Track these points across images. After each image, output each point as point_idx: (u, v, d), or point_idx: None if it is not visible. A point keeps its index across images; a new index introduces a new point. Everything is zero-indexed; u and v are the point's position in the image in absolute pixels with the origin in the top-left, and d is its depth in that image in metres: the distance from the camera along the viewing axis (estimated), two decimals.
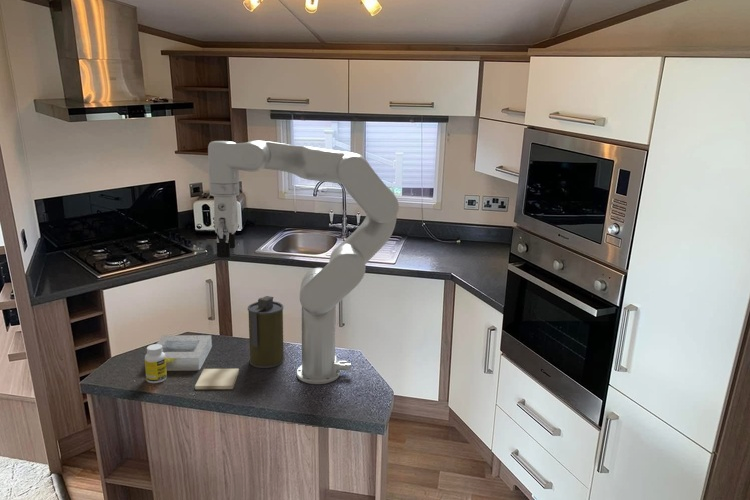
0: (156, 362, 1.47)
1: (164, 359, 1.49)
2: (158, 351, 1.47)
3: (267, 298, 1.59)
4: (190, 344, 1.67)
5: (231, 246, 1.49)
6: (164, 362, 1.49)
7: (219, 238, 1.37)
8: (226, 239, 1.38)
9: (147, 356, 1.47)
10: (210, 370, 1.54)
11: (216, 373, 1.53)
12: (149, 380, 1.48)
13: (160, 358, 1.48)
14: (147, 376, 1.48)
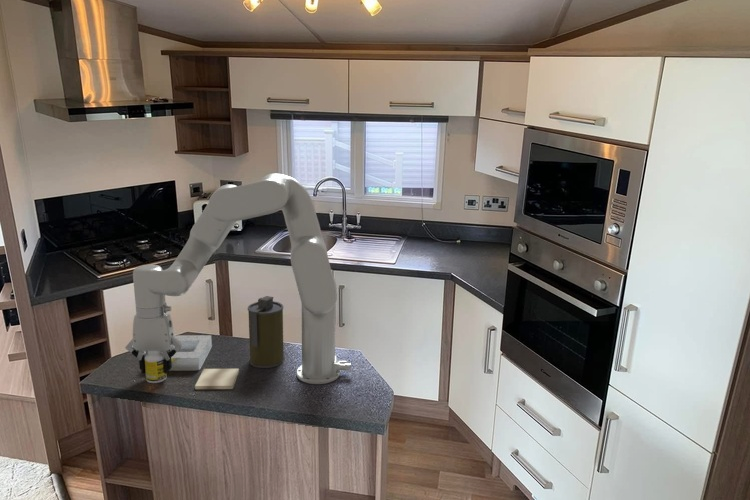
0: (156, 362, 1.47)
1: None
2: (158, 351, 1.47)
3: (267, 298, 1.59)
4: (190, 344, 1.67)
5: None
6: None
7: (174, 353, 1.49)
8: None
9: (147, 356, 1.47)
10: (210, 370, 1.54)
11: (216, 373, 1.53)
12: (149, 380, 1.48)
13: (160, 358, 1.48)
14: (147, 376, 1.48)
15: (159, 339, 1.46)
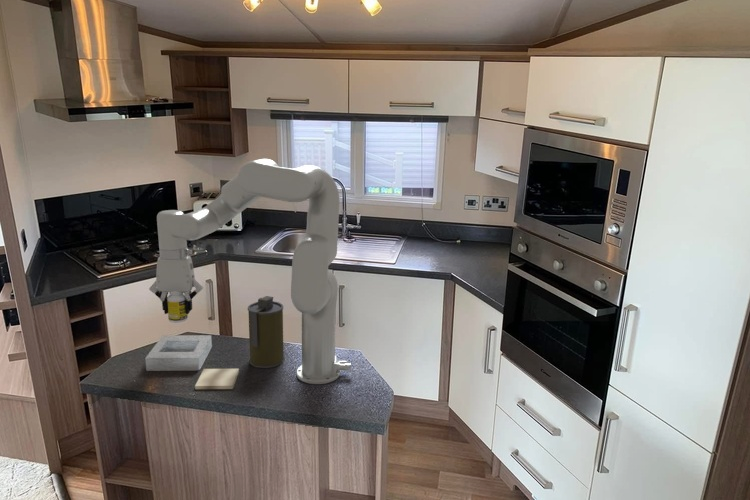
0: (178, 302, 1.57)
1: (185, 300, 1.59)
2: (180, 292, 1.57)
3: (267, 298, 1.59)
4: (190, 344, 1.67)
5: None
6: None
7: (195, 294, 1.58)
8: None
9: (169, 297, 1.57)
10: (210, 370, 1.54)
11: (216, 373, 1.53)
12: (171, 319, 1.58)
13: (182, 299, 1.57)
14: (169, 316, 1.58)
15: (181, 280, 1.55)
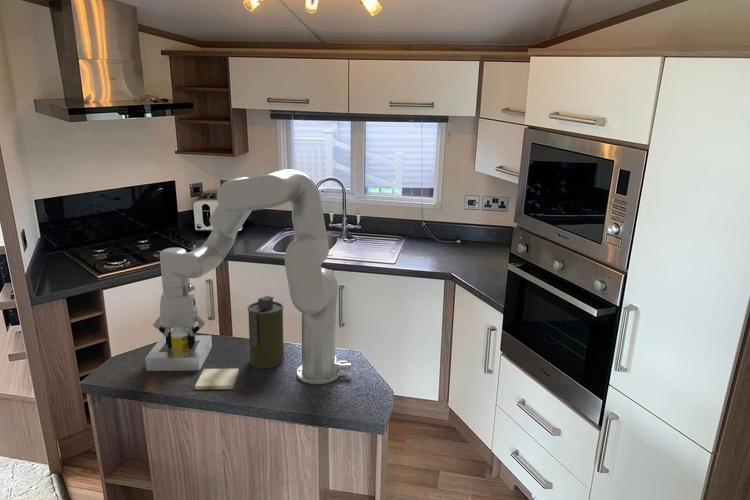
0: (182, 338, 1.59)
1: (188, 335, 1.61)
2: None
3: (267, 298, 1.59)
4: None
5: None
6: None
7: None
8: None
9: (173, 332, 1.60)
10: (210, 370, 1.54)
11: (216, 373, 1.53)
12: None
13: (185, 334, 1.60)
14: (173, 351, 1.61)
15: (184, 316, 1.58)
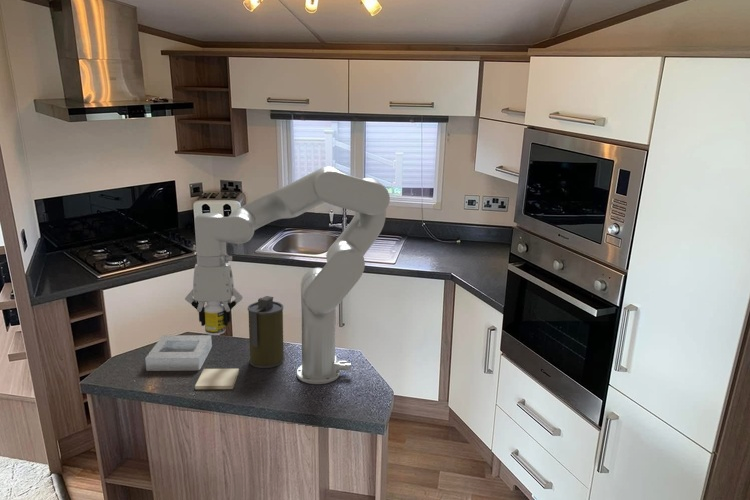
0: (217, 313, 1.44)
1: None
2: (218, 302, 1.44)
3: (267, 298, 1.59)
4: (190, 344, 1.67)
5: None
6: None
7: None
8: None
9: (207, 307, 1.44)
10: (210, 370, 1.54)
11: (216, 373, 1.53)
12: (209, 332, 1.45)
13: (220, 309, 1.44)
14: (207, 328, 1.45)
15: (220, 289, 1.42)
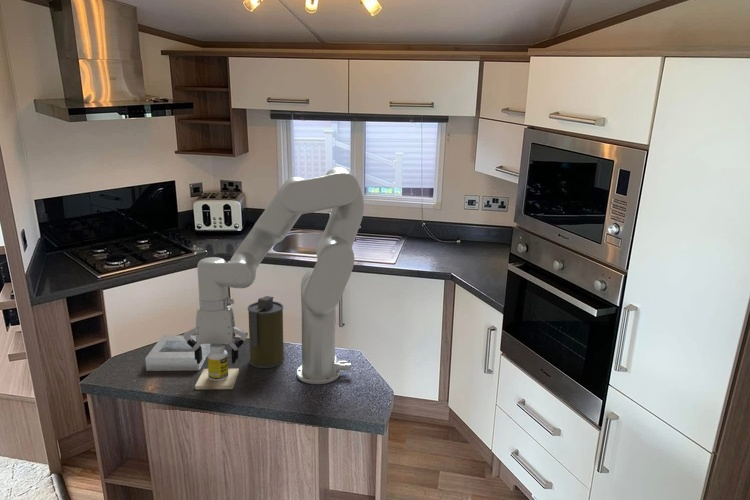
0: (220, 360, 1.47)
1: (227, 357, 1.49)
2: (221, 349, 1.47)
3: (267, 298, 1.59)
4: None
5: (201, 358, 1.50)
6: (226, 360, 1.49)
7: None
8: None
9: (210, 354, 1.47)
10: None
11: None
12: (212, 378, 1.48)
13: (223, 356, 1.48)
14: (210, 374, 1.48)
15: (222, 332, 1.45)
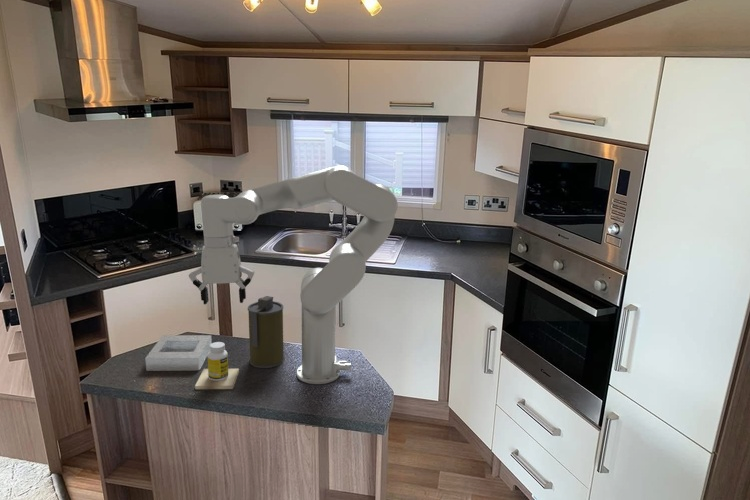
0: (220, 360, 1.47)
1: (226, 357, 1.49)
2: (221, 349, 1.47)
3: (267, 298, 1.59)
4: (190, 344, 1.67)
5: (207, 300, 1.48)
6: (226, 360, 1.49)
7: (249, 282, 1.47)
8: None
9: (210, 354, 1.48)
10: None
11: None
12: (212, 378, 1.48)
13: (223, 356, 1.48)
14: (210, 374, 1.48)
15: (228, 270, 1.43)
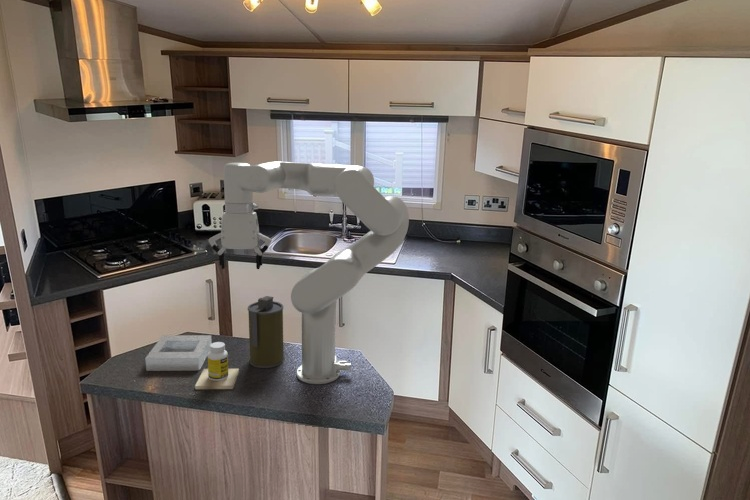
0: (220, 360, 1.47)
1: (227, 357, 1.49)
2: (221, 349, 1.47)
3: (267, 298, 1.59)
4: (190, 344, 1.67)
5: (225, 265, 1.53)
6: (227, 360, 1.49)
7: (266, 249, 1.51)
8: None
9: (210, 354, 1.48)
10: None
11: None
12: (212, 378, 1.48)
13: (223, 356, 1.48)
14: (210, 374, 1.48)
15: (247, 236, 1.48)
